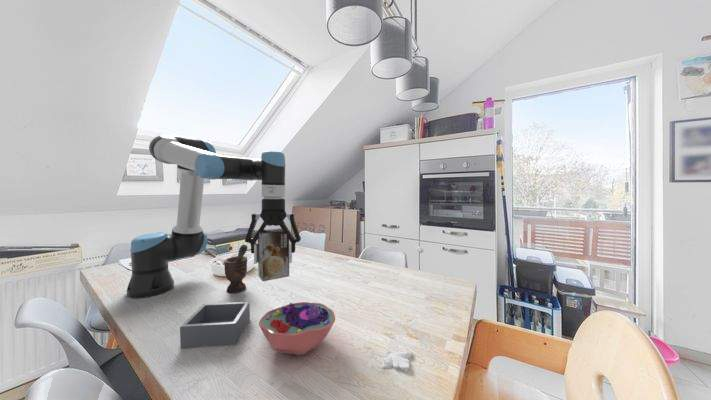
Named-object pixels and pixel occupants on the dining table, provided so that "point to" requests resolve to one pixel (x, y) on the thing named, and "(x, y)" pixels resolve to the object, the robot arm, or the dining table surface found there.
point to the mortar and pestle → (236, 271)
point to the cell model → (297, 327)
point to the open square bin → (215, 325)
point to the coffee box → (273, 254)
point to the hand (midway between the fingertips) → (273, 262)
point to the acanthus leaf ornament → (397, 360)
